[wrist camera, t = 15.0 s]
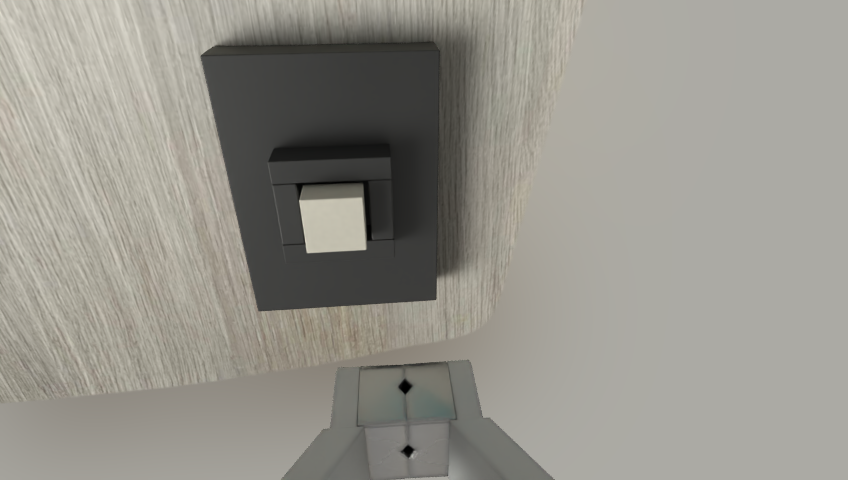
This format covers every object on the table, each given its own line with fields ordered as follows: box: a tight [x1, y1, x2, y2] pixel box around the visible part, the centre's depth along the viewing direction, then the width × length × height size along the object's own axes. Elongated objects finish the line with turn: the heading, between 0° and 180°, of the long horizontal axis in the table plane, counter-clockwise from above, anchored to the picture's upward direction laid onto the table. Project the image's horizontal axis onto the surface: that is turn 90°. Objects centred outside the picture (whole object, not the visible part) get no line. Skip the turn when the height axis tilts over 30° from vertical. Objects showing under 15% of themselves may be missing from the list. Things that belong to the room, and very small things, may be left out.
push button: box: [299, 183, 367, 253], centre depth 25 cm, size 3×3×2 cm
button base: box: [201, 42, 440, 311], centre depth 27 cm, size 11×15×4 cm
